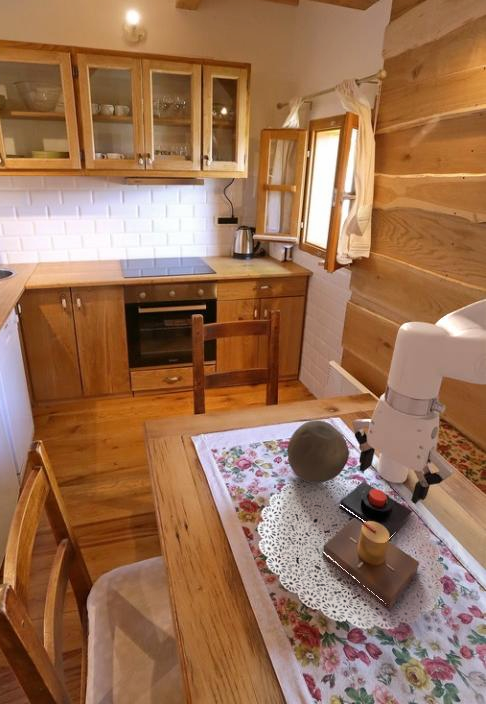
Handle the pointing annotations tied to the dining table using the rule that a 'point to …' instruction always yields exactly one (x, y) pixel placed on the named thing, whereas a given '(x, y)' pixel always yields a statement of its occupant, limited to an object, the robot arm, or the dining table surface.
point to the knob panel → (377, 578)
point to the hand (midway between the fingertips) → (390, 483)
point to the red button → (377, 497)
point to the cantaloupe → (317, 452)
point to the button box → (375, 509)
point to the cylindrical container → (391, 469)
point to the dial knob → (373, 542)
